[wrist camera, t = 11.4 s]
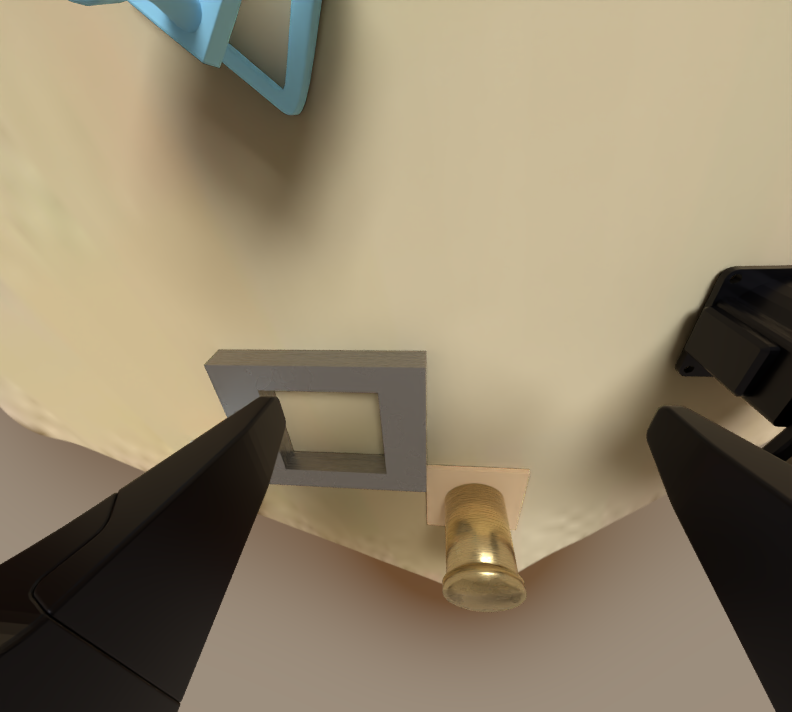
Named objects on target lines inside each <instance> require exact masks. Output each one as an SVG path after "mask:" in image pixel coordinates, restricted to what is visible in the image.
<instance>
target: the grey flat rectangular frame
mask: <svg viewBox="0 0 792 712" xmlns="http://www.w3.org/2000/svg"><path fill="white" fill-rule="evenodd" d="M204 366H205V369H206V371H207V373H208V375H209V378H210V380H211V382H212V384H213V387H214V389H215V391H216V393H217V396H218V398H219V400H220V402H221V404H222V407H223V409H224V411H225V413H226V416H227V418H228V417H229V416H231V415H232V414H234V413H235V412H237V411H238V410H240V409H241V408H243V407H244V406H246V405H247V404H249V403H250V402H252V401H253V400H255V399H256V398H258V397H260V396H276V395H275V392H274V391H312V392H361V393H378V398H379V407H380V416H381V426H382V435H383V444H384V454H385V455H373V454H348V453H324V452H299V451H293V448H292V445H291V442H290V438H289V435H288V432H287V429H286V426H285V431H284V434H283V438H282V442H281V445H280V449H279V452H278V456H277V459H276V463H275V466H274V470H273V473H272V477H271V480H270V483H269V484H280V485H299V486H318V487H338V488H357V489H376V490H396V491H415V492H426V486H427V410H426V351H344V350H218V351H217V352H216V353H215V354H214V355H213V356H212V357H211V358H210V359H209V360H208V361H207V362H206V363H205V364H204Z"/></svg>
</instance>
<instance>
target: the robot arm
mask: <svg viewBox="0 0 792 712" xmlns="http://www.w3.org/2000/svg"><path fill="white" fill-rule="evenodd" d="M734 275H736V276H735V278H734V279H732V280H730V279H731V277H732V276H734ZM688 366H689V367H688ZM686 367H688V368H686ZM685 368H686V369H685ZM675 369H676V371H677V372H678V373H679V374H680V375H682V376H706V377H715V378H716V379H717V380H718V381H719V382H721V383H722V384H723V385H724V386H725V387H726V388H727V389H728V390H729V391H731V392H732V393H733V394H734V395H735V396H741V397H742V398H743V399H745V400H746V401H747V402H748V403H749V404H750V405H751V406H752V407H754V408H755V409H756V410H757V411H758V412H759V413H760V414H761V415H763V416H764V417H765V418H766V419H767V420H768V421H769V422H771V423H772V424H773V425H774V426H777V427H786V428H785V429H784V430H783V431H782V432H780V433H779V434H778V435H777V436H776V437H774V438H773V439H772V440H771V441H770V442H769V443H767V444H766V445H765V446H764V447H763V448H760V447H758V446H756V445H754V444H752V443H750V442H749V441H747V440H745V439H743V438H741V437H740V436H738V435H736V434H734V433H732V432H730V431H729V430H727V429H725V428H723V427H721V426H719V425H718V424H716V423H714V422H712V421H710V420H708V419H707V418H705V417H703V416H701V415H699V414H697V413H696V412H694V411H692V410H690V409H688V408H686V407H684V406H679V405H663V406H661V407H660V408H658V410H657V412H656V414H655V416H654V418H653V420H652V422H651V424H650V426H649V428H648V430H647V442H648V445H649V447H650V450H651V453H652V455H653V458H654V460H655V463H656V466H657V468H658V471H659V474H660V476H661V479H662V482H663V484H664V487H665V490H666V492H667V495H668V497H669V500H670V502H671V504H672V506H673V509H674V510H675V513H676V515H677V517H678V519H679V521H680V523H681V525H682V527H683V529H684V531H685V533H686V535H687V536H688V538H689V541H690V543H691V545H692V547H693V549H694V551H695V553H696V555H697V557H698V559H699V561H700V562H701V564H702V566H703V568H704V570H705V572H706V574H707V576H708V578H709V580H710V582H711V584H712V586H713V588H714V590H715V592H716V594H717V596H718V598H719V600H720V602H721V604H722V606H723V608H724V610H725V612H726V614H727V616H728V618H729V620H730V622H731V624H732V626H733V628H734V630H735V632H736V634H737V636H738V638H739V640H740V642H741V644H742V646H743V648H744V650H745V652H746V654H747V656H748V658H749V660H750V662H751V663H752V666H753V668H754V670H755V671H756V673H757V675H758V677H759V679H760V681H761V683H762V685H763V687H764V689H765V691H766V693H767V695H768V697H769V699H770V701H771V703H772V705H773V707H774V709H775V711H776V712H792V265H785V266H735V267H730V268H728V269H726V270H724V271H723V272H722V273H721V275H720V276H719V278H718V280H717V282H716V284H715V286H714V288H713V290H712V292H711V294H710V296H709V298H708V300H707V302H706V304H705V306H704V308H703V311H702V313H701V315H700V317H699V319H698V321H697V323H696V325H695V327H694V329H693V331H692V333H691V335H690V337H689V339H688V341H687V343H686V345H685V347H684V349H683V351H682V353H681V355H680V358H679V360H678V362H677V364H676V366H675ZM285 426H286V421H285V417H284V414H283V410H282V407H281V404H280V401H279V399H278V398H277V397H276V396H260V397H258V398H256V399H255V400H253V401H252V402H250V403H249V404H247V405H246V406H244V407H243V408H241V409H240V410H238V411H237V412H235V413H234V414H232V415H231V416H229V417H228V418H226V419H225V420H223V421H222V422H220V423H219V424H217V425H216V426H214V427H213V428H211V429H210V430H208V431H207V432H205V433H204V434H202V435H201V436H199V437H198V438H196V439H195V440H193V441H192V442H190V443H189V444H187V445H186V446H184V447H183V448H181V449H180V450H178V451H177V452H175V453H174V454H172V455H171V456H169V457H168V458H166V459H165V460H163V461H162V462H160V463H159V464H157V465H156V466H154V467H153V468H151V469H150V470H148V471H147V472H145V473H144V474H142V475H141V476H140V477H138V478H136V479H135V480H133V481H132V482H130V483H129V484H127V485H126V486H125V487H123V488H121V489H120V490H119V492H118V493H114V494H112V495H111V496H109V497H108V498H106V499H105V500H104V501H102V502H100V503H99V504H97V505H96V506H94V507H93V508H91V509H90V510H88V511H86V512H85V513H83V514H82V515H80V516H79V517H77V518H76V519H74V520H73V521H71V522H69V523H68V524H66V525H65V526H63V527H62V528H60V529H58V530H57V531H55V532H53V533H52V534H50V535H49V536H47V537H45V538H44V539H42V540H40V541H39V542H37V543H35V544H34V545H32V546H30V547H29V548H27V549H26V550H24V551H22V552H21V553H19V554H17V555H16V556H14V557H12V558H10V559H9V560H7V561H5V562H4V563H2V564H0V712H178V709H179V707H180V702H181V701H182V699H183V696H184V694H185V691H186V689H187V686H188V684H189V681H190V679H191V677H192V674H193V672H194V669H195V667H196V664H197V662H198V659H199V657H200V654H201V652H202V649H203V647H204V644H205V642H206V639H207V637H208V634H209V632H210V629H211V627H212V625H213V622H214V620H215V617H216V615H217V612H218V610H219V607H220V605H221V602H222V599H223V597H224V595H225V592H226V590H227V587H228V585H229V582H230V580H231V578H232V575H233V573H234V570H235V568H236V565H237V563H238V560H239V557H240V555H241V553H242V550H243V548H244V546H245V543H246V541H247V538H248V535H249V533H250V531H251V528H252V525H253V523H254V521H255V518H256V516H257V513H258V511H259V508H260V506H261V503H262V501H263V499H264V496H265V494H266V491H267V488H268V486H269V483H270V480H271V477H272V473H273V470H274V466H275V463H276V459H277V456H278V452H279V449H280V445H281V442H282V438H283V434H284V431H285Z"/></svg>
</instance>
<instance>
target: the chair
mask: <svg viewBox="0 0 792 712" xmlns="http://www.w3.org/2000/svg"><path fill="white" fill-rule="evenodd" d="M69 1H71V2H74V3H78V4H82V5H85V6H92V5H102V4H112V3H121V2H124V1H128V2H129V3H131V4H132V5H133V6H134V7H135V8H136V9H138V10H139V11H140V12H141V13H142V14H144V15H145V16H146V17H147V18H148V19H149V20H151V21H152V22H153V23H154V24H155V25H157V26H158V27H159V28H160V29H162V30H163V31H164V32H165V33H166V34H168V35H169V36H170V37H171V38H173V39H174V40H175V41H176V42H177V43H179V44H180V45H181V46H182V47H184V48H185V49H186V50H187V51H188V52H190V53H191V54H192V55H193V56H195V57H196V58H197V59H198V60H199V61H201V62H202V63H204V64H208V65H211V66H214V67H218V68H220V66H221V63H224V64H225V65H226V66H227V67H228V68H230V69H231V70H232V71H233V72H234V73H236V74H237V75H238V76H239V77H241V78H242V79H243V80H244V81H245V82H247V83H248V84H249V85H250V86H251V87H253V88H254V89H255V90H256V91H257V92H259V93H260V94H261V95H262V96H264V97H265V98H266V99H267V100H268V101H270V102H271V103H272V104H273V105H274V106H276V107H277V108H278V109H279V110H280V111H282V112H283V113H285V114H287V115H299V114H300V113H301V111H302V110H303V107H304V104H305V102H306V98H307V93H308V89H309V85H310V79H311V73H312V66H313V60H314V54H315V47H316V40H317V33H318V25H319V18H320V11H321V4H322V0H291V14H290V28H289V42H288V56H287V69H286V80H285V86H284V88H283V89H282V88H281V87H280V86H279V85H277V84H276V83H275V82H274V81H273V80H272V79H270V78H269V77H268V76H267V75H266V74H265V73H263V72H262V71H261V70H260V69H259V68H257V67H256V66H255V65H254V64H253V63H252V62H250V61H249V60H248V59H247V58H246V57H245V56H243V55H242V54H241V53H240V52H239V51H237V50H236V49H235V48H234V47H233V46H232V45H230V44H229V43H228V42H229V39H230V36H231V33H232V30H233V27H234V24H235V21H236V18H237V15H238V11H239V8H240V4H241V0H69Z"/></svg>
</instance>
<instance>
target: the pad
mask: <svg viewBox="0 0 792 712" xmlns="http://www.w3.org/2000/svg"><path fill="white" fill-rule="evenodd" d="M529 476H530V471H529V469H510V468H487V467H464V466H441V465H427V525H440V526H445V496H446V494H447V493H448V492H449V491H450V490H451V489H453V488H455V487H457V486H459V485H463V484H469V483H479V484H485V485H489V486H492V487H494V488H496V489H497V490H499V491H500V492H501V493H502V495H503V496H504V500H505V505H506V511H507V516H508V521H509V527H510V530H516V527H517V523H518V519H519V515H520V512H521V508H522V504H523V500H524V496H525V492H526V488H527V484H528V480H529Z"/></svg>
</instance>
